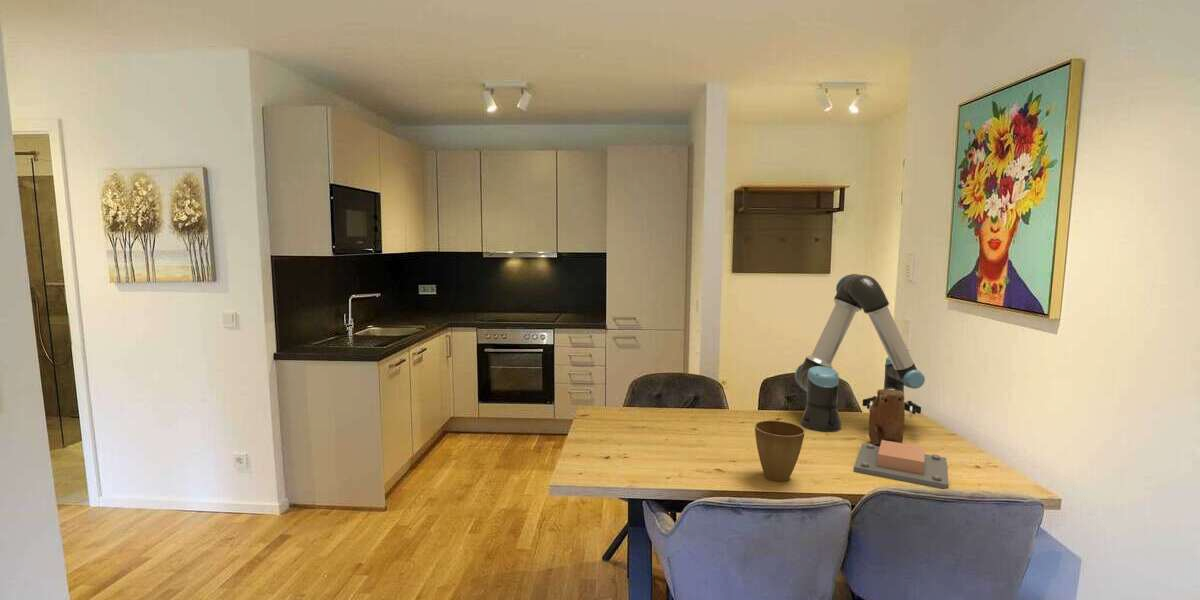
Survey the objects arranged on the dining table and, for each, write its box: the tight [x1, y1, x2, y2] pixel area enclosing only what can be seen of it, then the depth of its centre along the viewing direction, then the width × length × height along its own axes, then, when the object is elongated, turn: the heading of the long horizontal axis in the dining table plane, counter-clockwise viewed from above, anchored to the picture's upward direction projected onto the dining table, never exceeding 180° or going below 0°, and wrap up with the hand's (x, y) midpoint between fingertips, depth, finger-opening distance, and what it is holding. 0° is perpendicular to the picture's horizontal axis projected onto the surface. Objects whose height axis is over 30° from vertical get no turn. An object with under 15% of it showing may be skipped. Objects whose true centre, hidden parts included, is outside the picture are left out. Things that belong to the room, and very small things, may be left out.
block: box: [868, 388, 906, 446], centre depth 206 cm, size 11×8×20 cm
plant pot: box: [754, 420, 806, 483], centre depth 174 cm, size 15×15×16 cm
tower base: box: [853, 440, 950, 489], centre depth 184 cm, size 26×26×6 cm
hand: (890, 411), depth 211 cm, fingers open, 13 cm apart
